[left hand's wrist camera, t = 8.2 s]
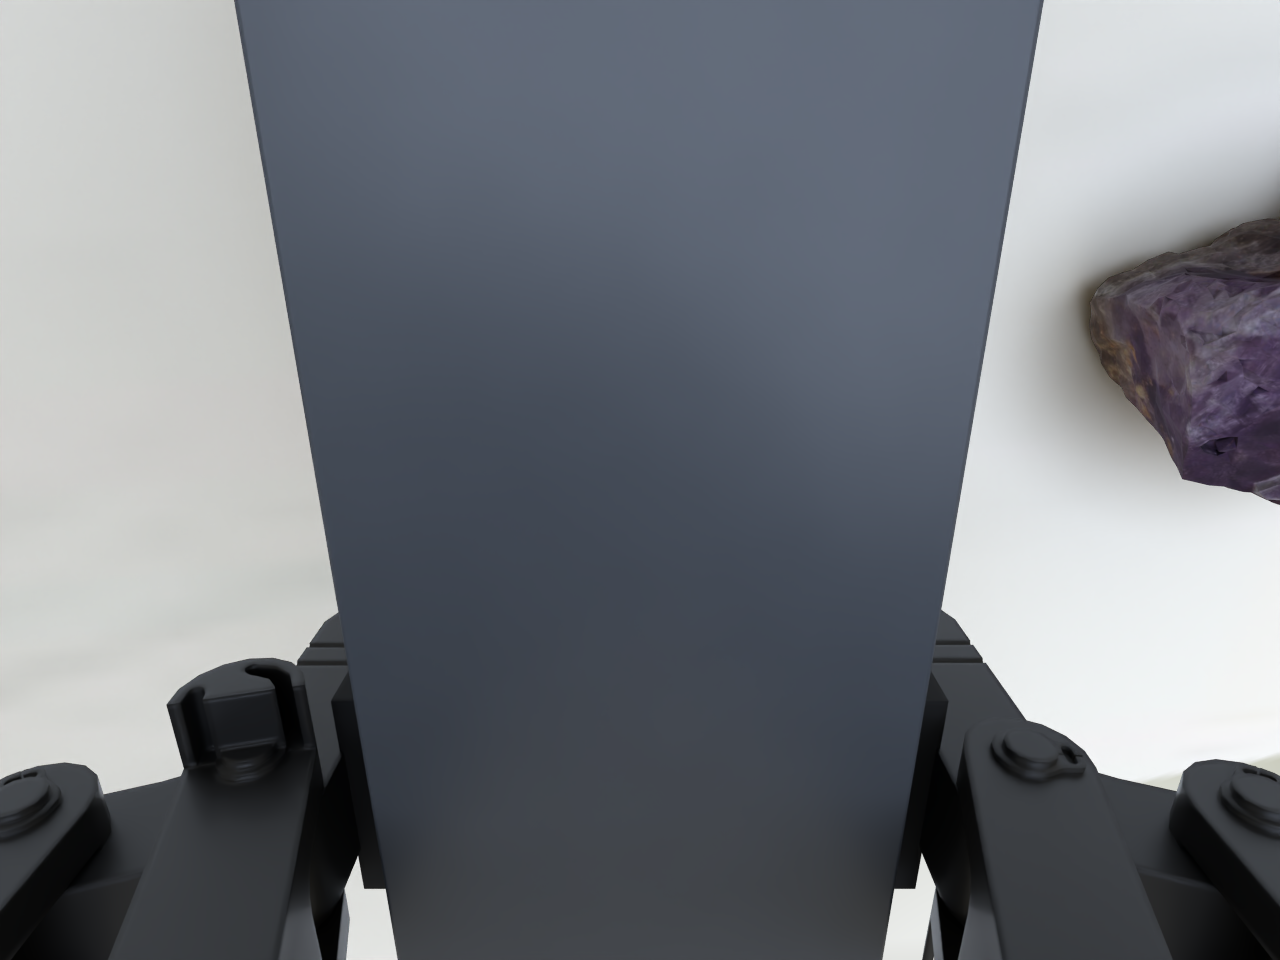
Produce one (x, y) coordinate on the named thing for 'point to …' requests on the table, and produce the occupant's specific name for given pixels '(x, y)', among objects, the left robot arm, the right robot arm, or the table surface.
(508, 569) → the bar
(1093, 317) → the rock
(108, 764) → the table surface
